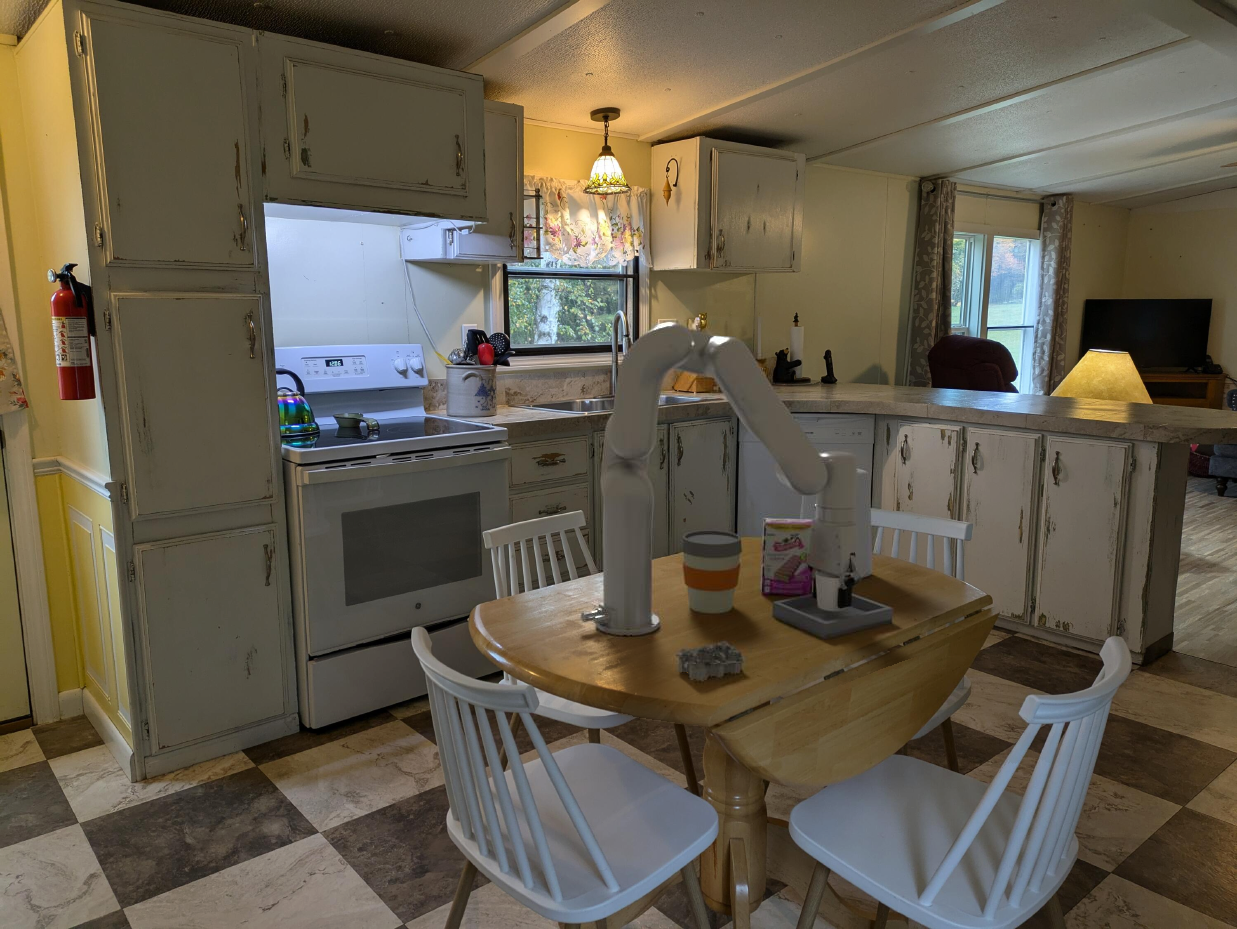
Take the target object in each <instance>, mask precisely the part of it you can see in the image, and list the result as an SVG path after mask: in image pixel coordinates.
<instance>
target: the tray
mask: <svg viewBox="0 0 1237 929" xmlns="http://www.w3.org/2000/svg"><path fill="white" fill-rule="evenodd" d="M893 612H894V608H893V607H891V606H889V605H885V604H882V603H880V602H877V601H874V600H871V599H868V598H867V597H863V596H860V595H858V594H854V593H852V603H851V606H850V607H846V609H845V610H842V611H827V610H823V609H820V608H819V607H818V604H817V599H815V598H813V593H812V594H809V595H804V596H800V595H798V596H796V597H790V598H786V599H781V600H777V601H776V600H775V601H773V602H772V613H771V614H772V617H773V618H775V619H777V620H779V621H781V622H785V623H786V624H788V625H791V626H794V627H796V628H798V629H800V630H803V631H805V632H807V633H809V634H812V635H814V636H817V637H819V638H821V639H822V640H827V639H831V638H836V637H840V636H844V635H848V634H852V633H856V632H859V631H864V630H868V629H872V628H877V627H881V626H884V625H888V624H891V623H893V614H894V613H893Z"/></svg>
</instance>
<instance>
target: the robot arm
mask: <svg viewBox="0 0 1237 929" xmlns="http://www.w3.org/2000/svg"><path fill="white" fill-rule="evenodd" d="M671 370H677V371H680V372H684V373H688V374H693V375H696V376H697V375H698V376H702V377H708V378H712V379H714V381H715V383H716V384H717V386H718V387H719V389H720V390H721V392H722V393H723V395H724V397H725V398H726V399H727V401H728V403H729V404H730V406H731V407H732V409H733V411H734V412H735V414H736V416H737V417H738V419H739V420H740V422H741V423H742V424H743V426H744V427H745V428H746V429H747V430H748V431H749V432H750V433H751V434H752V435H753V436H754V437H755V438H756V439H757V440H758V441H759V442H760V443H761V444H762V445H763V446H764V447H765V448H766V449H767V451H768V452H769V454H770V455H771V456H772V458H773V459H774V460H775V465H774V471H775V472H774V473H775V475H776V477H777V479H778V480H779V481H780V482H781V483H782V484H783V485H784V486H786V487H788V488H789V489H791V490H792V491H794V493H797V494H798V495H802V496H803V495H805V496H809V495H814V494H816V505H815V507H814V508H815V510H816V518H813V521H812V524H811V528H810V533H809V541H808V551H807V553H806V554H805V555H804V559H805V561H806V563H807V565H808V568H809V570H810V572H811V577H812V579H813V584H812V594H813V598H815V599H817V589H816V574H815V573H816V571H819V570H822V571H824V572H827V573H830V574H833V575H837V576H838V578H839V582H840V586H841V588H838V605H837V606H838V608H845V607H850V606H851V603H852V594H853V588H855V587H856V585H858V583H859V582H860V581H861V580H862V579H864V578H865V577H864V576H865V573H864V571H863V570H862V568H861V566H860V565H859V563H858V560H859V546H858V533H857V526H856V524H855V504H856V482H857V469H858V458H857V457H856V454H854V453H851V452H847V451H839V450H837V451H836V450H834V451H825V452H818V450H817V449H816V448H815V445H814V444H813V442H812V441H811V440H810V438H809V436H808V435H807V433H806V432H805V431H804V429H803V428H802V426H801V425H800V424H799V422H798V421H797V420H796V419H795V417H794V416H793V414H791V411H790V410H789V408H787V405H785V403H784V402H783V401H782V400H781V398H780V396H779V395H778V393H777V391H776V390H775V388H774V387H773V385H772V384H771V382H770V381H769V379H768V377H767V376H766V375H765V373H764V371H763V369H762V368H761V365H760V364H759V363H758V361H757V360H756V359H755V357H754V354H753V353H752V352H751V350H750V348H749V347H748V346H747V345H746V343H745V342H743V341H742V340H741V339H739V338H737V337H733V336H721V335H716V334H711V333H708V332H707V333H706V332H702V331H698V330H694V329H690V328H687V327H686V326H684V324H680V323H678V322H673V321H672V322H671V321H670V322H669V321H668V322H663V323H658V324H657V325H654V326H653V327H652V328H650V329H649V331H647V332H646V333H644V334H643V335H641V336H640V337H639V338H638V339H636V340H635V341H634V342H633V344H632V345H630V347H629V348H628V350H627V351H626V352H625V354H624V356H623V359H622V360H621V363H620V365H619V368H618V374H617V379H616V386H615V393H614V399H613V410H612V414H611V415H610V416H609V418H608V420H607V422H606V426H605V429H604V437H603V447H602V456H601V457H602V458H601V459H602V460H601V468H600V469H601V470H600V471H601V473H600V489H601V494H602V504H603V505H602V506H603V509H602V511H603V516H602V518H603V519H602V522H603V523H602V550H603V551H602V552H603V554H602V556H603V558H602V559H603V562H602V563H603V566H602V567H603V569H602V570H603V602H599V603H598V607H596V608H595V610H588V611H583V612H581V614H580V619H581V621H582V623H587V622H592V621H593V624H595V626H596V628H597V629H598V630H600V631H601V632H603V633H606V634H609V633H610V634H611V635H614V636H615V635H616V636H623V635H627V636H630V635H632V636H641V635H645V634H649V633H652V632H654V631H656V630H657V629H659V627H660V624H661V621H660V617H658V615H657V614H654V613H653V612H652V611H653V610H652V609H653V607H652V606H653V605H652V603H653V590H652V588H653V520H654V504H655V493H654V488H653V484H652V481H651V479H650V478H649V477H648V472H649V462H650V454H651V453H652V451H653V450H654V448H655V446H656V442H657V432H658V430H657V429H658V418H659V417H658V416H659V405H660V400H661V399H660V398H661V391H662V387H663V384H664V381H665V378H666V376H667V375H668V374H669V372H670V371H671ZM852 573H854V574H852ZM845 575H847V576H848V580H847V581H846V580H845ZM863 577H864V578H863ZM610 634H609V635H610ZM627 636H626V637H627Z"/></svg>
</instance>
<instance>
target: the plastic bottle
mask: <svg viewBox="0 0 1237 929" xmlns="http://www.w3.org/2000/svg"><path fill="white" fill-rule="evenodd" d="M801 497H802V498H801V507H800V516H799V519H810V520H813V518H816V510H815V508H814V507H815V505H816V494H814V495H809V496H805V495H802V496H801ZM871 500H872V499H871V476H870V473H869V471H867V470H864V469H860V468H857V482H856V504H855V524H856V526H857V533H858V546H859V560H858V563H859V565H860V566H861V568H862V570H863V571H864V573H865V576H864V577H863V578H862V579H864V578H867V577H869V576H870V575H871V574H872V573H873V544H872V543H873V542H872V540H873V539H872V535H873V534H872V505H871V504H872V502H871ZM852 574H854V573H852Z"/></svg>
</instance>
